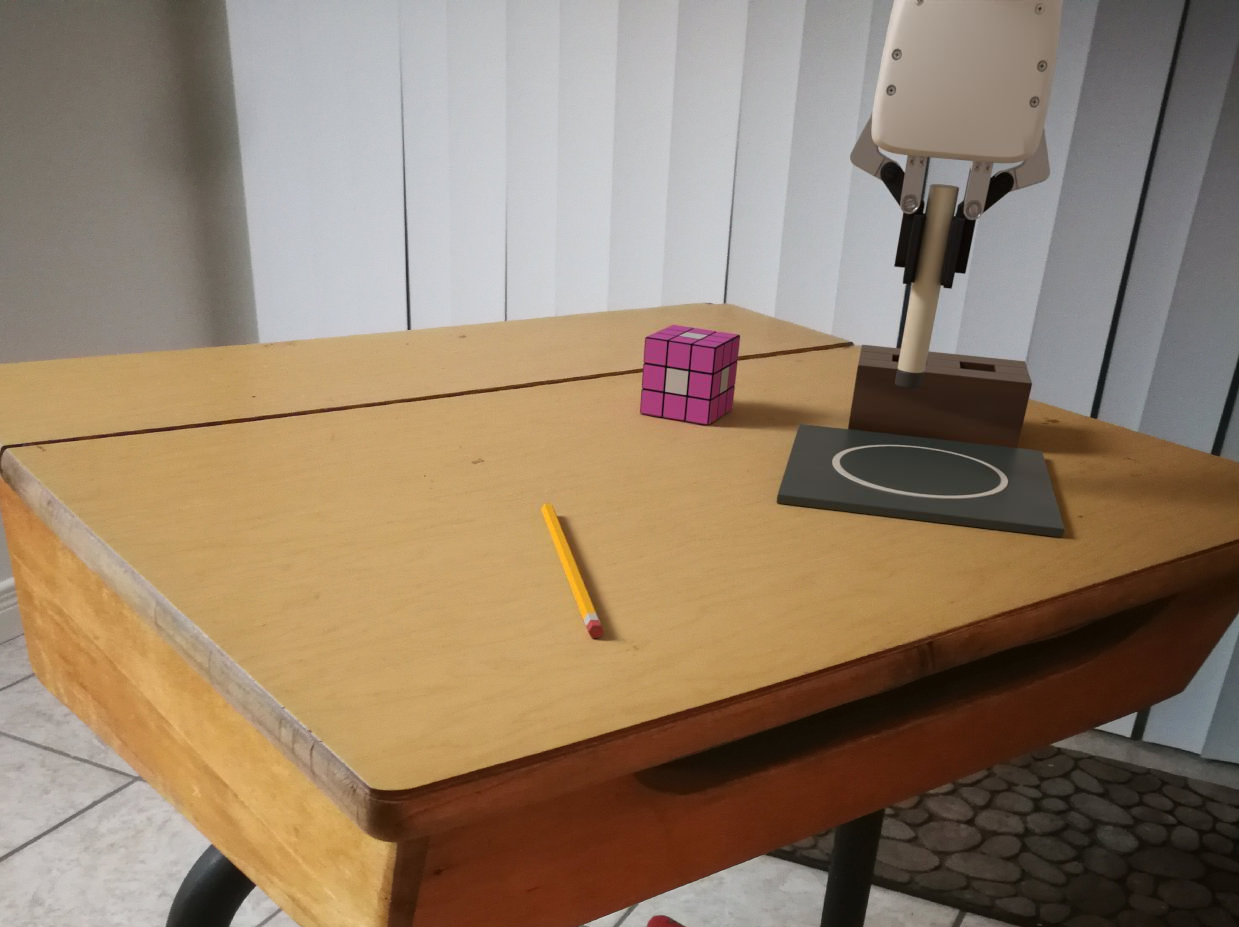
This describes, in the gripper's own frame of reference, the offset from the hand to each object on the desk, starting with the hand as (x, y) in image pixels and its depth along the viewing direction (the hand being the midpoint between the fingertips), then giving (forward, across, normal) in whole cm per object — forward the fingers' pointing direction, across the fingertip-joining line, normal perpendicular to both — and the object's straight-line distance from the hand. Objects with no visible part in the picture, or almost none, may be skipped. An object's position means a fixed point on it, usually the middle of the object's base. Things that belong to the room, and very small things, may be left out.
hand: (927, 280), depth 82 cm
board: (+13, -2, 0) cm, 13 cm away
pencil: (+13, +17, +25) cm, 33 cm away
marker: (+7, 0, 0) cm, 7 cm away
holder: (+13, -3, -14) cm, 19 cm away
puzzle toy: (+13, +16, -11) cm, 23 cm away
